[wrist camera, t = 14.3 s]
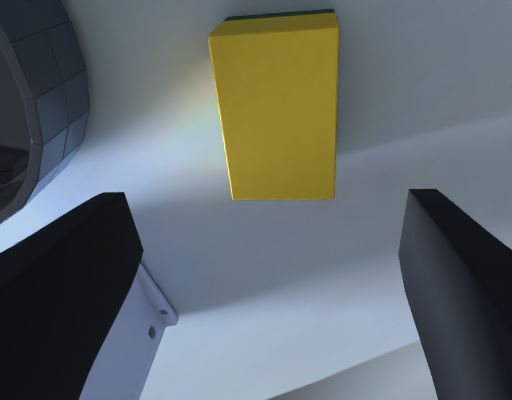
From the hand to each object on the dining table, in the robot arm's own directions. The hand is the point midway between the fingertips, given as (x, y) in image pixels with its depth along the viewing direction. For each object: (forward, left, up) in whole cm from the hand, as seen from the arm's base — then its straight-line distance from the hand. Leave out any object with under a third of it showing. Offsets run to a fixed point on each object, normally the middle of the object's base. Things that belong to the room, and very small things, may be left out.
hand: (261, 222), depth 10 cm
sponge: (0, 0, -9) cm, 9 cm away
